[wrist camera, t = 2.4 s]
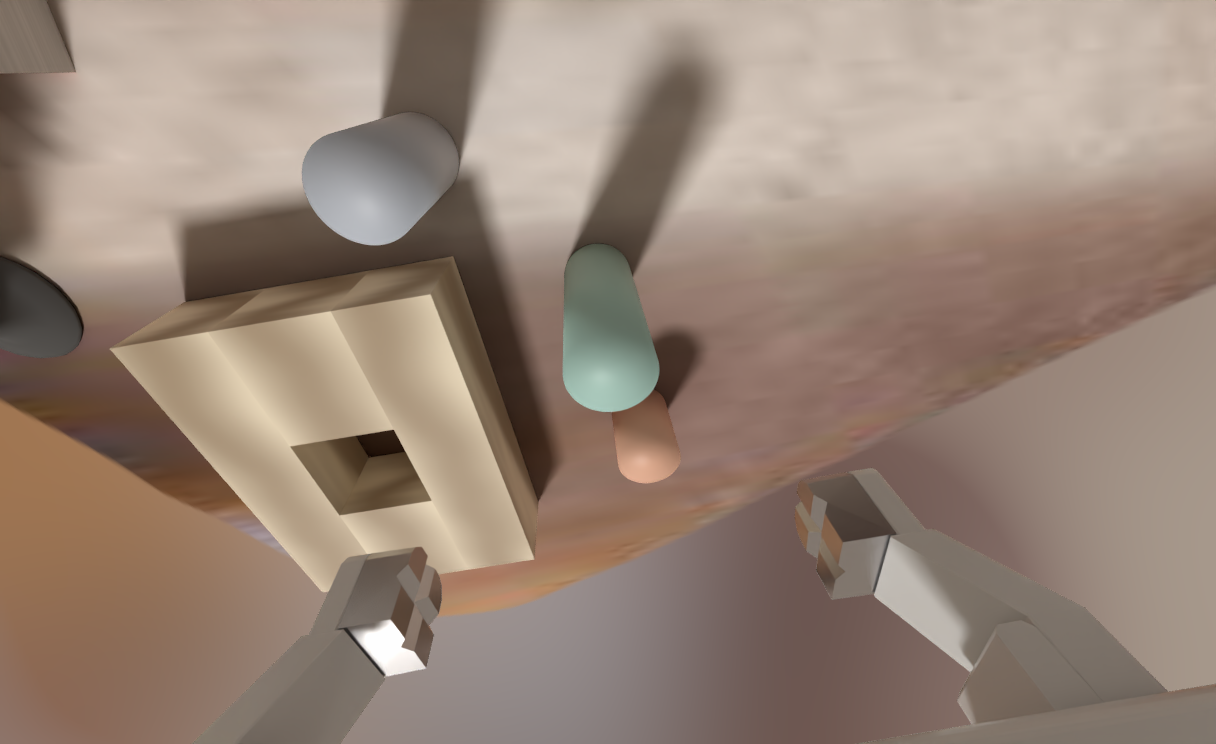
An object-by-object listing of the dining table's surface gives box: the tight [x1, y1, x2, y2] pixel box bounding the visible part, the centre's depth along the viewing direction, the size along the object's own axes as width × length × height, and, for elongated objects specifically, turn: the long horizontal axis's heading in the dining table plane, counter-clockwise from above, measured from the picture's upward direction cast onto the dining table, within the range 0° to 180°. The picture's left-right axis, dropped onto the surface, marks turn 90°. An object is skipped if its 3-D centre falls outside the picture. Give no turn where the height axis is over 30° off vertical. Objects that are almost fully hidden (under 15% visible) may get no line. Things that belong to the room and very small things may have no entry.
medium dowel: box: [302, 112, 459, 245], centre depth 15 cm, size 3×3×6 cm
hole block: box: [110, 256, 538, 592], centre depth 23 cm, size 12×16×4 cm
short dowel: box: [612, 389, 681, 483], centre depth 24 cm, size 3×3×4 cm
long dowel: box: [563, 244, 659, 412], centre depth 18 cm, size 3×3×8 cm
